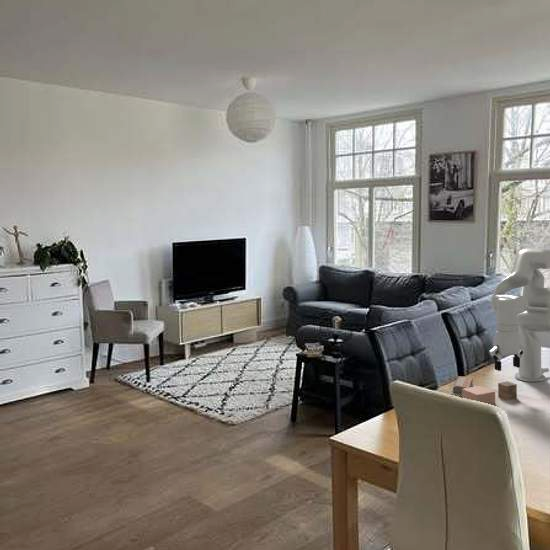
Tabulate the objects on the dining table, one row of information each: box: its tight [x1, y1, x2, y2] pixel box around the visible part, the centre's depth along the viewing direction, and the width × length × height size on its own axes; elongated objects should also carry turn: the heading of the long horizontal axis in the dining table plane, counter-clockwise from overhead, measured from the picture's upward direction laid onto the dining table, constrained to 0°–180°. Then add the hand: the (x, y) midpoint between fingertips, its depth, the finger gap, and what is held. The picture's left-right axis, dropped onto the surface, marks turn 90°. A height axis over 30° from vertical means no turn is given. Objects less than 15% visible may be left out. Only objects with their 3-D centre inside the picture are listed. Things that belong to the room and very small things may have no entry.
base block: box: [461, 385, 496, 405], centre depth 224 cm, size 9×9×5 cm
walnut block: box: [497, 380, 518, 401], centre depth 228 cm, size 5×5×6 cm
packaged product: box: [447, 375, 478, 396], centre depth 239 cm, size 18×5×10 cm
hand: (507, 368), depth 227 cm, fingers open, 9 cm apart
